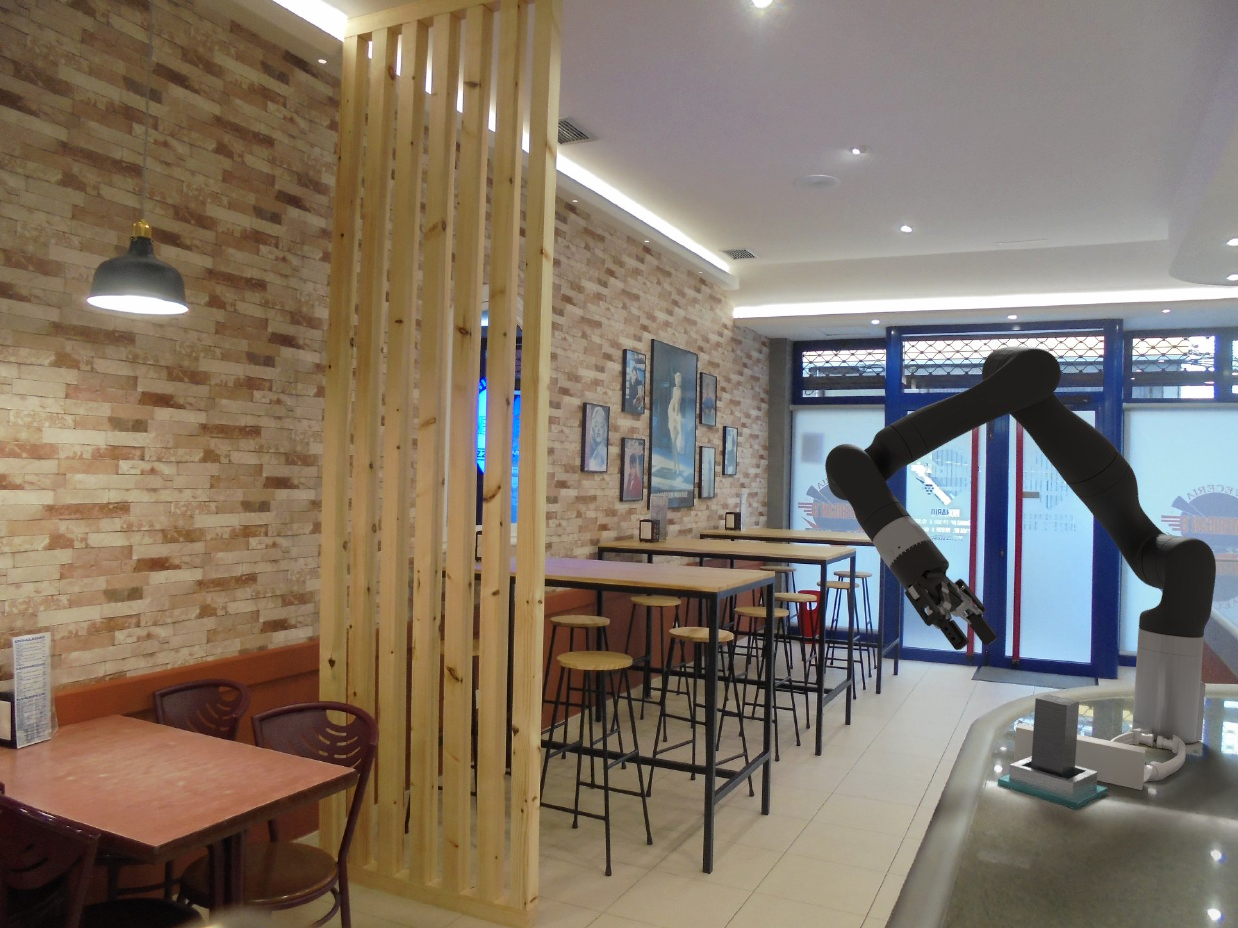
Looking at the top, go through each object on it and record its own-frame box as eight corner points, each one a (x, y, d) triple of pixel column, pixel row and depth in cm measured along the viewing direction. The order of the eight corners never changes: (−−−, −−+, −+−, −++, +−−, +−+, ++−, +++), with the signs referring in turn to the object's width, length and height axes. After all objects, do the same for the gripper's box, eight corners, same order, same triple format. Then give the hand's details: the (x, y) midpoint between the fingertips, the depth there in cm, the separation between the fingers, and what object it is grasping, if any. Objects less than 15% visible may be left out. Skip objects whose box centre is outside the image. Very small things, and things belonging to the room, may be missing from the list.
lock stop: (1042, 775, 121) (1048, 694, 121) (1073, 784, 118) (1079, 701, 118) (1030, 780, 118) (1035, 697, 118) (1061, 790, 115) (1067, 705, 115)
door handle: (1196, 754, 140) (1167, 790, 122) (1125, 738, 147) (1087, 770, 128) (1197, 737, 140) (1168, 770, 122) (1126, 722, 147) (1088, 752, 128)
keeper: (1030, 770, 125) (1031, 750, 125) (1107, 793, 117) (1108, 772, 117) (997, 784, 118) (999, 763, 118) (1076, 809, 111) (1078, 787, 111)
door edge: (1013, 761, 128) (1016, 727, 128) (1017, 756, 131) (1019, 722, 131) (1142, 790, 120) (1144, 752, 120) (1143, 784, 122) (1145, 747, 122)
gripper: (902, 538, 128) (973, 632, 119) (950, 537, 137) (1020, 625, 129) (867, 570, 132) (934, 664, 123) (917, 567, 141) (982, 654, 133)
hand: (978, 644), depth 126 cm, fingers open, 8 cm apart
